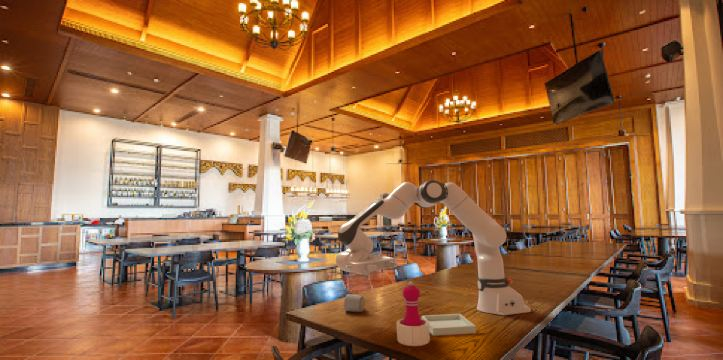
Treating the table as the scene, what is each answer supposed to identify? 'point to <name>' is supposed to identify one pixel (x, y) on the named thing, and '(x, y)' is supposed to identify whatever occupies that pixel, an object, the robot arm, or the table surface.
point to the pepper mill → (411, 305)
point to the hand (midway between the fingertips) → (386, 266)
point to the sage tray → (449, 324)
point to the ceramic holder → (413, 333)
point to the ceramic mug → (354, 303)
